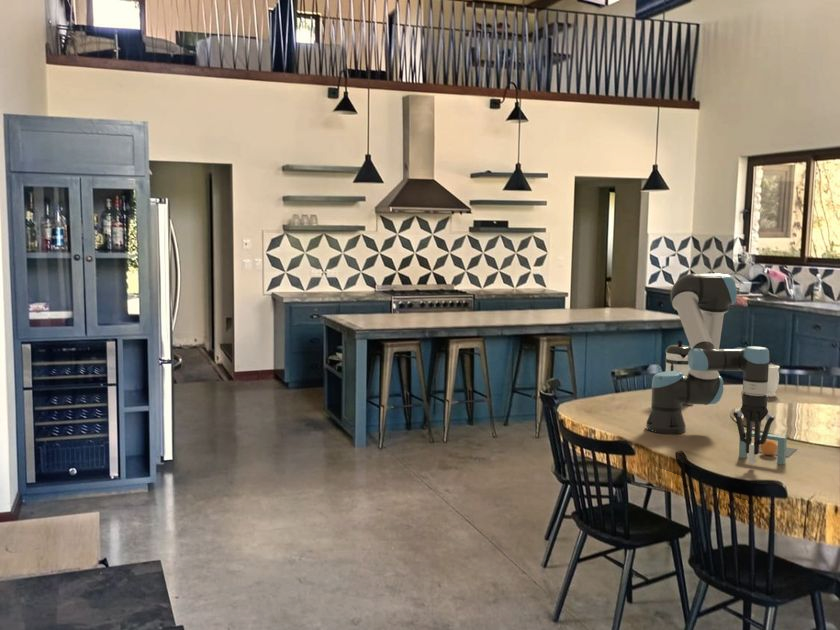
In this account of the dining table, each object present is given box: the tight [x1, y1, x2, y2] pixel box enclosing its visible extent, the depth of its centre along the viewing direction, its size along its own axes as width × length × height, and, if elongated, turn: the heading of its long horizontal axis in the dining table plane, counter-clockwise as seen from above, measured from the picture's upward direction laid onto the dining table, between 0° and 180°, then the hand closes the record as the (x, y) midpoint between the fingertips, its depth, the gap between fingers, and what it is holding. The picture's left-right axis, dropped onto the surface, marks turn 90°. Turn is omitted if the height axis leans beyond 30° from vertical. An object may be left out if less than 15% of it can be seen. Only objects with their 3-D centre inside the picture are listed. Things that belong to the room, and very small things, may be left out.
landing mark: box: [758, 444, 798, 458], centre depth 278 cm, size 13×13×1 cm
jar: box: [766, 363, 781, 398], centre depth 378 cm, size 11×10×15 cm
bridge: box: [738, 429, 788, 466], centre depth 265 cm, size 14×3×9 cm, turn 52°
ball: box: [760, 439, 778, 456], centre depth 272 cm, size 6×6×6 cm
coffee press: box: [664, 339, 694, 406], centre depth 359 cm, size 17×16×30 cm
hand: (751, 463), depth 255 cm, fingers closed
